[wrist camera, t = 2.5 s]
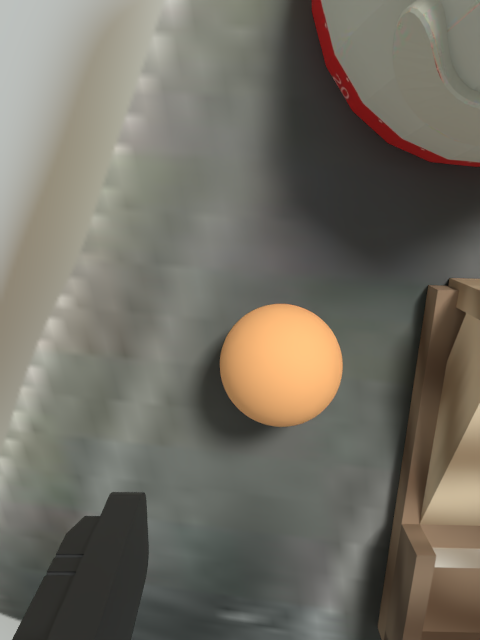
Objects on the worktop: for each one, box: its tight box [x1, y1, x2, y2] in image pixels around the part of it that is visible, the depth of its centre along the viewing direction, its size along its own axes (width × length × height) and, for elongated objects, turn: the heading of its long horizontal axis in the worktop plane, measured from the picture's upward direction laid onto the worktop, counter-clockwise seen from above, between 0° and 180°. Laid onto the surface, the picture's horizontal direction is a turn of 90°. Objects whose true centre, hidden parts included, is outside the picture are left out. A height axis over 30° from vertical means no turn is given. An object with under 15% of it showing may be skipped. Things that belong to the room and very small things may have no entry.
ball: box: [220, 304, 343, 427], centre depth 18 cm, size 5×5×5 cm
